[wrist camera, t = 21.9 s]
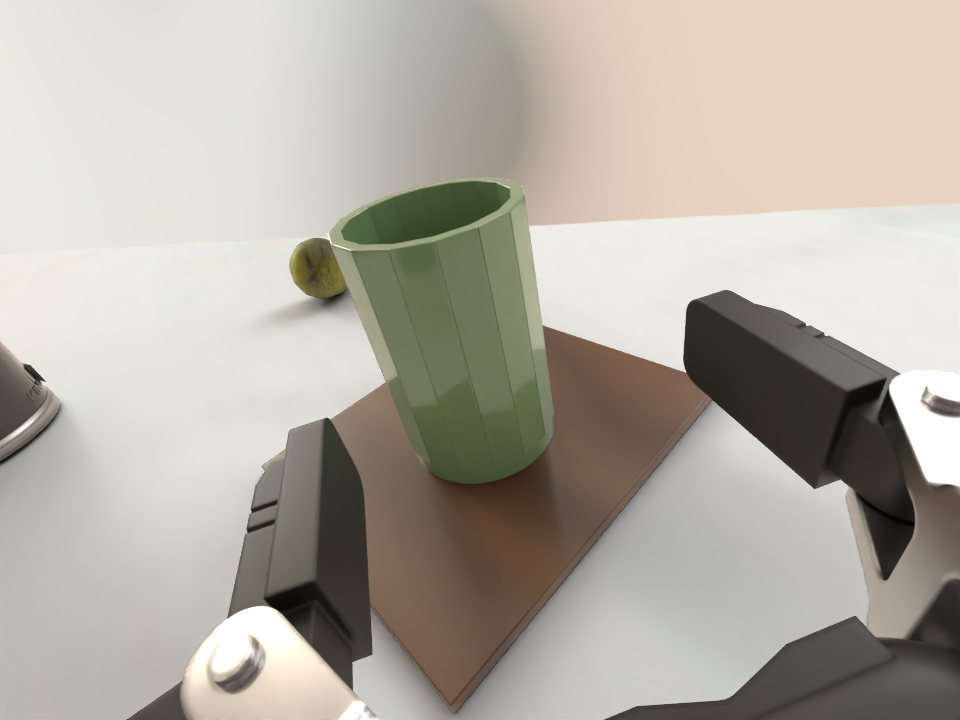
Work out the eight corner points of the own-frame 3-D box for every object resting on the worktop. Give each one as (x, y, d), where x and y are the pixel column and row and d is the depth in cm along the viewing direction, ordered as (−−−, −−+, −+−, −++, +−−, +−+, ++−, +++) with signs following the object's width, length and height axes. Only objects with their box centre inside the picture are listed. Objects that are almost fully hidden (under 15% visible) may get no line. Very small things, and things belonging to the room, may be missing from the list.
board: (454, 715, 12) (450, 707, 12) (266, 473, 22) (260, 465, 21) (717, 393, 20) (719, 383, 20) (496, 317, 30) (494, 309, 29)
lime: (298, 303, 38) (270, 246, 35) (347, 278, 40) (325, 223, 37) (321, 315, 35) (294, 255, 32) (373, 288, 37) (351, 229, 34)
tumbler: (480, 513, 17) (402, 266, 11) (386, 438, 21) (295, 233, 16) (585, 413, 20) (565, 180, 14) (484, 366, 24) (438, 173, 19)
